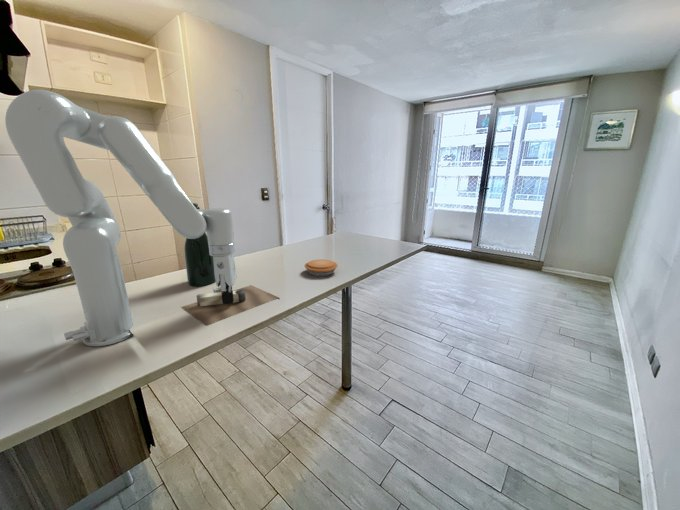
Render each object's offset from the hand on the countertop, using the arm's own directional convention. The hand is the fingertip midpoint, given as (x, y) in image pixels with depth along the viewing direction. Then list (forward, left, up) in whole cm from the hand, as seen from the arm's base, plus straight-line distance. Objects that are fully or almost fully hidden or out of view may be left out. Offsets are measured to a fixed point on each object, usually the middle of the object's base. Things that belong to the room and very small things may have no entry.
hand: (228, 302), depth 92 cm
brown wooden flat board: (+2, +2, -3) cm, 4 cm away
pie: (+48, +5, -3) cm, 49 cm away
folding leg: (0, +4, -1) cm, 4 cm away
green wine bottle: (+4, +29, -3) cm, 29 cm away
